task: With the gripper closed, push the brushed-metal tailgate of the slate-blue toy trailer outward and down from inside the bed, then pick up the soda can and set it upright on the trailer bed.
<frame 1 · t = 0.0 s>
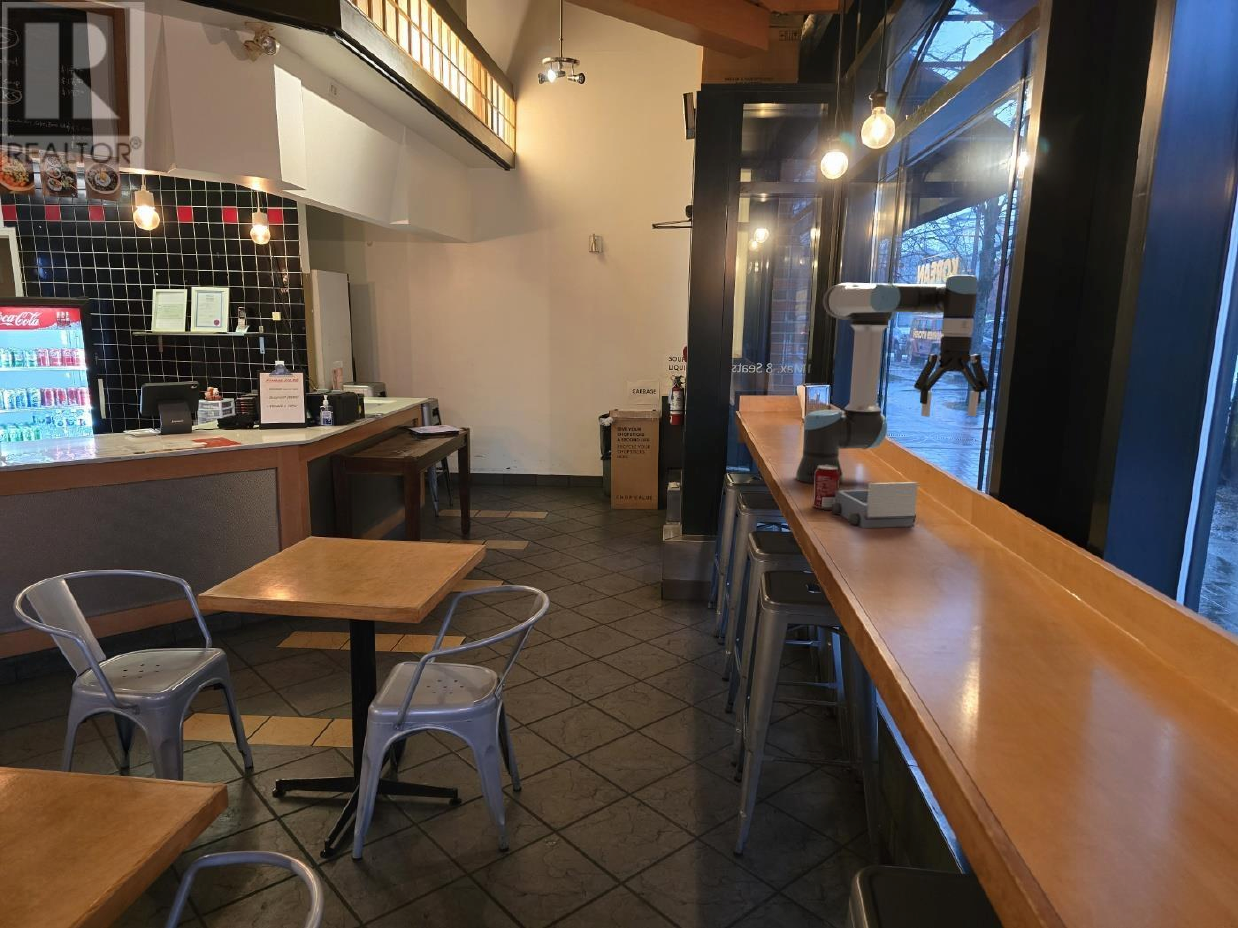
hand: (948, 416, 198), 28 cm above the counter, fingers open, 13 cm apart
tailgate: (891, 501, 191), point 7 cm above the counter, hinge at 0.0°
trailer: (871, 518, 201), on the counter
soda can: (824, 508, 212), on the counter
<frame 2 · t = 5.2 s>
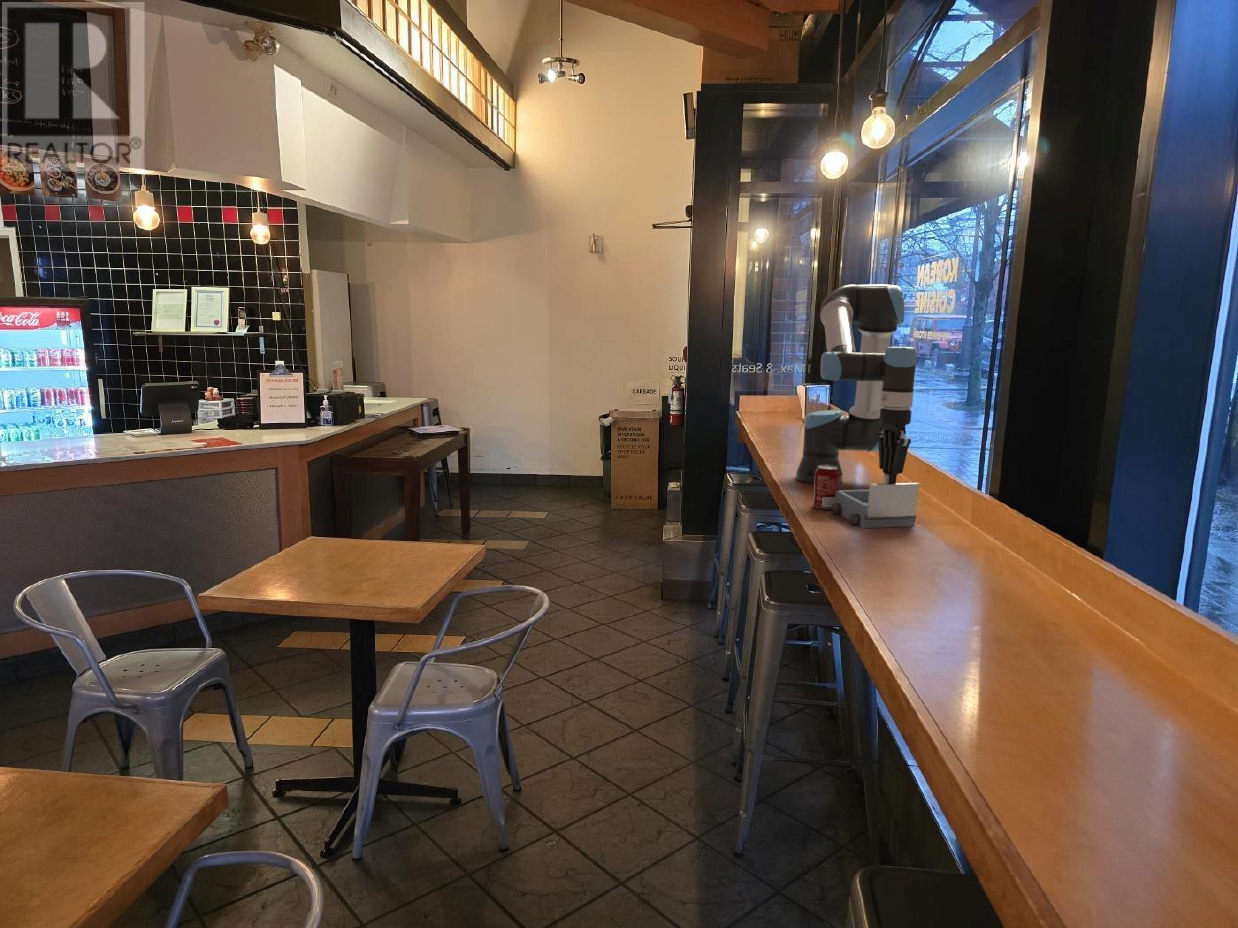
hand: (888, 498, 192), 8 cm above the counter, fingers closed
tailgate: (892, 501, 190), point 7 cm above the counter, hinge at 5.5°, touching gripper
everything else where it was.
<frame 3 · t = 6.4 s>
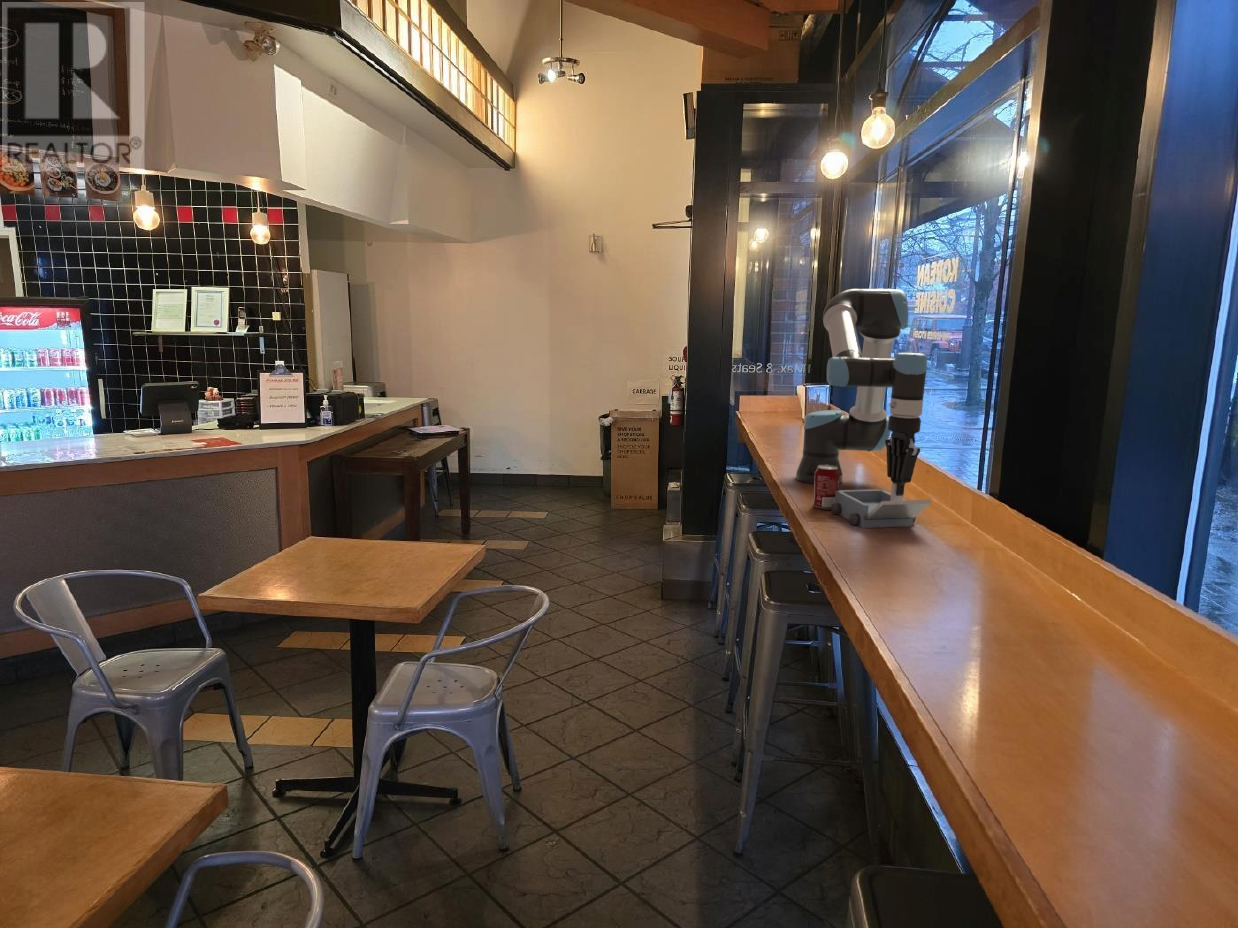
hand: (895, 507, 189), 6 cm above the counter, fingers closed
tailgate: (897, 510, 188), point 6 cm above the counter, hinge at 51.1°, touching gripper
everything else where it was.
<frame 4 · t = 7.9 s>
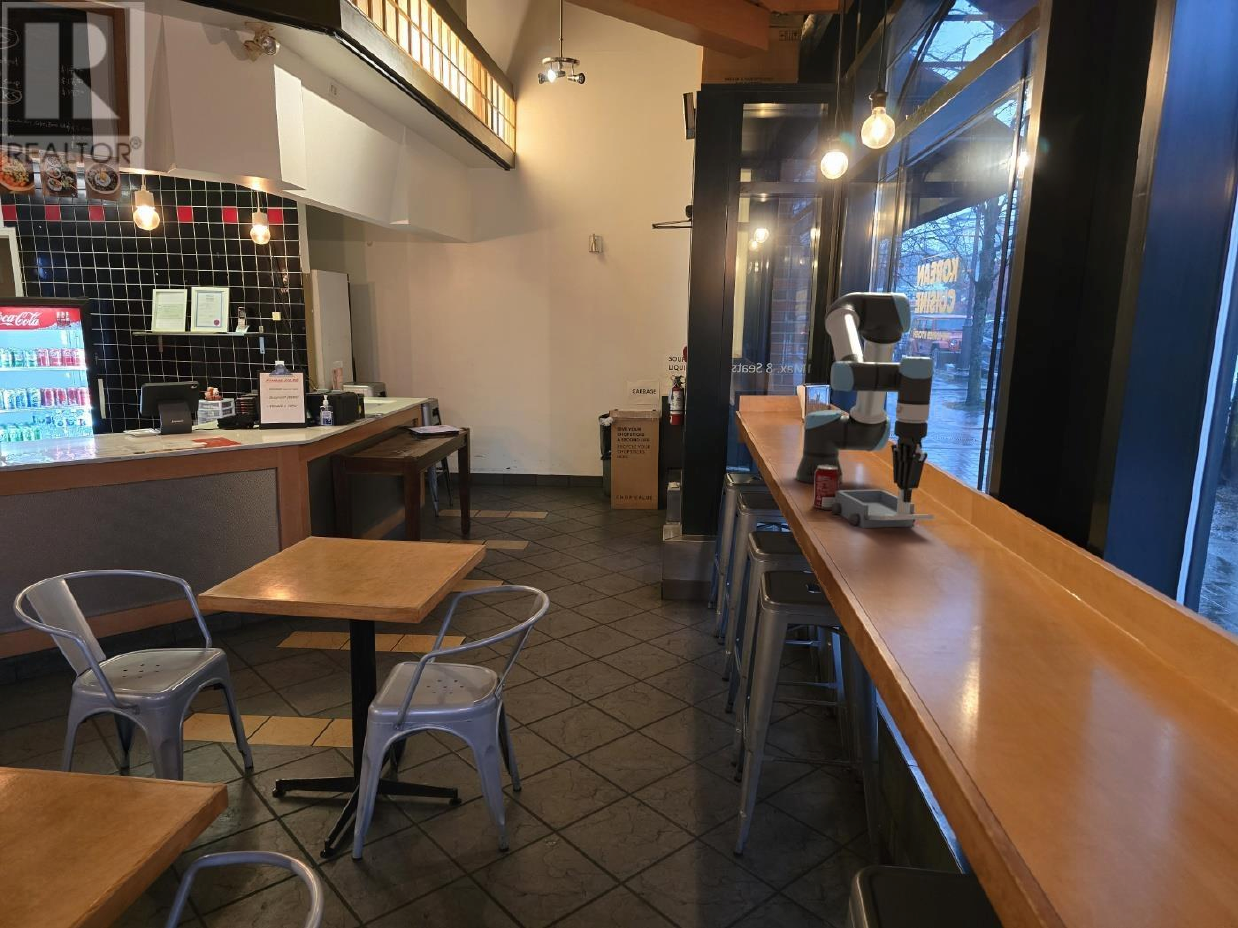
hand: (902, 513, 186), 5 cm above the counter, fingers closed
tailgate: (899, 517, 188), point 4 cm above the counter, hinge at 75.6°, touching gripper
everything else where it was.
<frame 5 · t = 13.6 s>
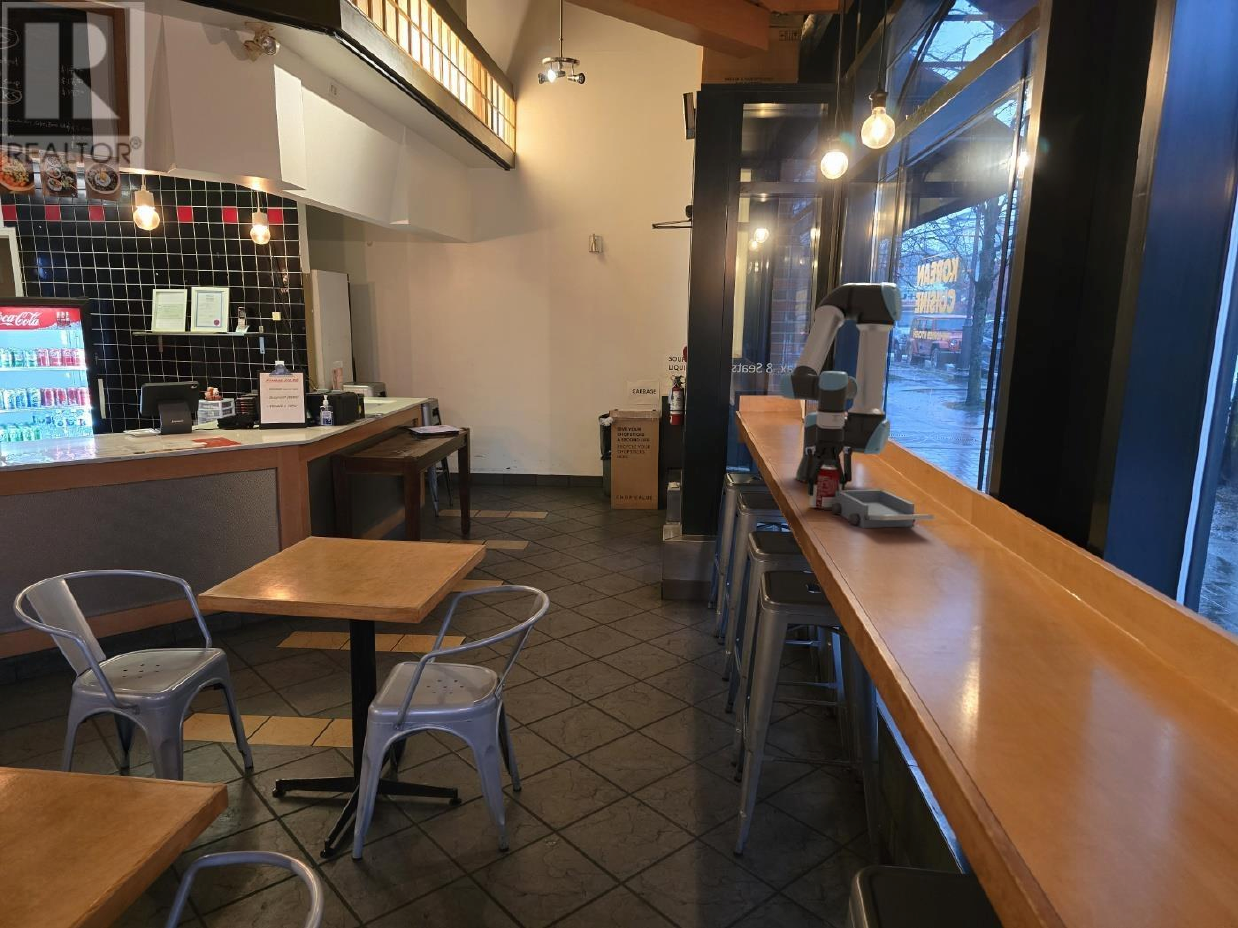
hand: (824, 505, 212), 1 cm above the counter, fingers closed on soda can, 7 cm apart
tailgate: (899, 517, 188), point 4 cm above the counter, hinge at 75.7°
soda can: (824, 508, 212), on the counter, touching gripper
when the fingers open (5 cm above the counter, at t = 17.9 s): soda can drops 2 cm, resting on trailer.
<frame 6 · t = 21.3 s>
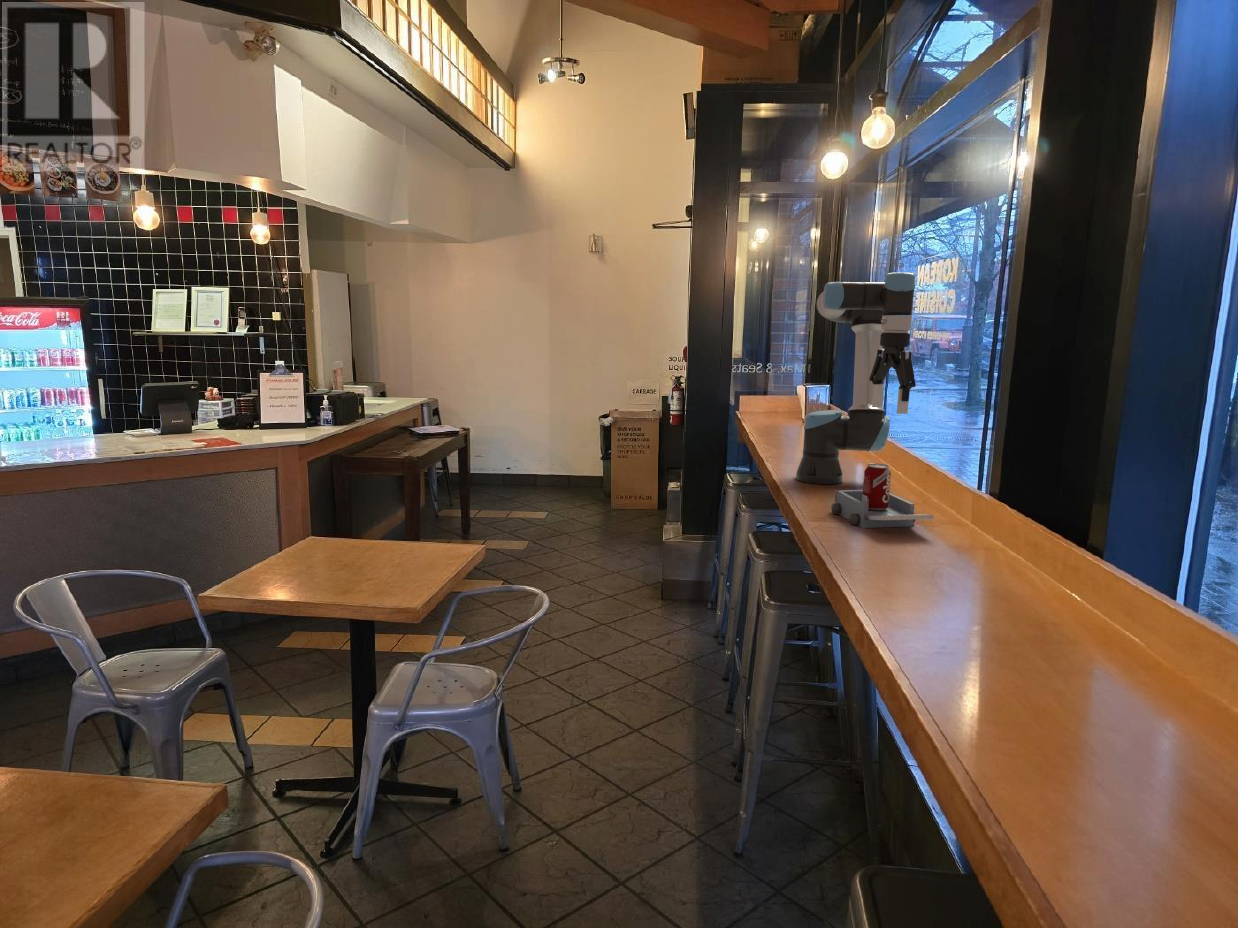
hand: (889, 410, 203), 29 cm above the counter, fingers open, 13 cm apart
soda can: (874, 509, 200), point 3 cm above the counter, touching trailer
everything else where it was.
at the end: tailgate at +76° (first picture: +0°); soda can inside the target area (0.2 cm from its centre), point 2.8 cm above the counter; soda can tilted 0° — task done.
